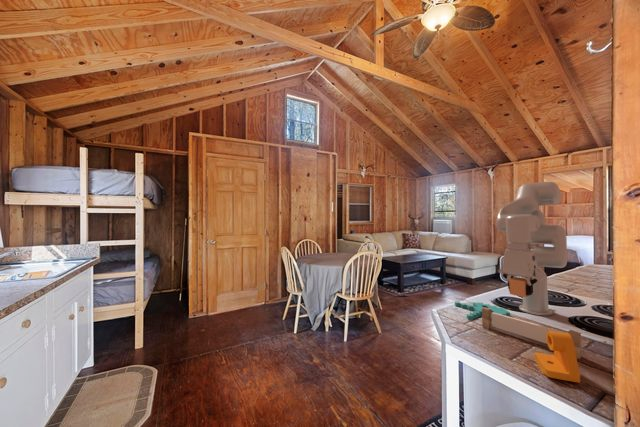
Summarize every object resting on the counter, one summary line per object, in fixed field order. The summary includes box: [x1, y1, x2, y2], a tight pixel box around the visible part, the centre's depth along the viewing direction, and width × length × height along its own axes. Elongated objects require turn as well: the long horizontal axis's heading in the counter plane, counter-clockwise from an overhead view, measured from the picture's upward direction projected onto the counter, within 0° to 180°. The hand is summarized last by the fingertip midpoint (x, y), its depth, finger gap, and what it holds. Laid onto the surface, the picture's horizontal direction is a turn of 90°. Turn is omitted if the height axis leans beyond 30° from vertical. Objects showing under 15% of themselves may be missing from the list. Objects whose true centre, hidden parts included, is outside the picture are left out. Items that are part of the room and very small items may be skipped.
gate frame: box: [481, 307, 583, 360], centre depth 97 cm, size 3×30×8 cm, turn 32°
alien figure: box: [454, 301, 511, 321], centre depth 125 cm, size 20×2×20 cm
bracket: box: [534, 331, 581, 384], centre depth 78 cm, size 11×7×12 cm, turn 156°
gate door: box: [492, 312, 568, 343], centre depth 97 cm, size 2×24×6 cm, turn 31°
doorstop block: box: [509, 276, 527, 298], centre depth 101 cm, size 5×5×6 cm
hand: (520, 292), depth 101 cm, fingers closed on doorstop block, 5 cm apart
